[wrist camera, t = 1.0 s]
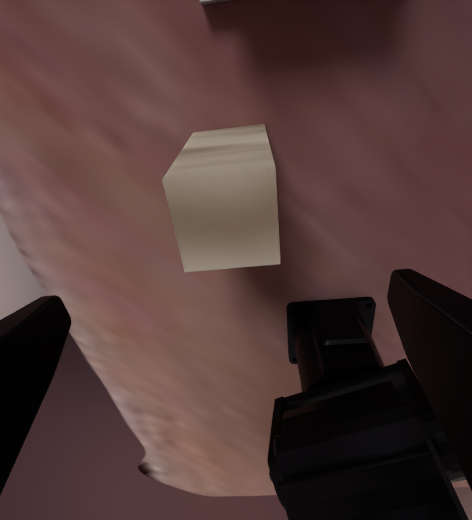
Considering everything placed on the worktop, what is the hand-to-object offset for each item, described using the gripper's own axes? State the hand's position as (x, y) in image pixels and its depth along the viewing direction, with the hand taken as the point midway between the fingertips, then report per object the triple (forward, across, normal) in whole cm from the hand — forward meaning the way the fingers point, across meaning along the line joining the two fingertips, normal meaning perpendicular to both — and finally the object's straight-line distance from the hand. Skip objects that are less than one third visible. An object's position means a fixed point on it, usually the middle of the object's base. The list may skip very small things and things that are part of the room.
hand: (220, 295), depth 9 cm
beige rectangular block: (+12, 0, 0) cm, 12 cm away
